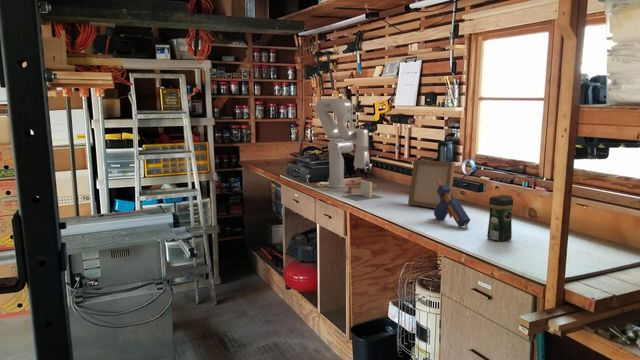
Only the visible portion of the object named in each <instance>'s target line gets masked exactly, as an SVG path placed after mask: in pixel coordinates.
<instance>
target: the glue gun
mask: <svg viewBox="0 0 640 360" xmlns="http://www.w3.org/2000/svg"><path fill="white" fill-rule="evenodd" d="M436 182H437V183H438V185H439V188H438V190H437V193H438V194H439V196H440V203H439V204H438V206H437V207H436V208H434V210H433V216H434V217H435V219H436V220H438V221H441V220H445V219H446V218H447V216H448V217H449V218H450V219H451V218H453V220H454V221H455V223H456V224H457V226H458V227H459V228H460V227H461V228H462V227H465V228H466V229H467V230H468V231H469V226H468V225H469V224H470V221H471V218H470V217H469V215H468V214H467V212H466V210H465V209H464V208H463V206H462V205H461V203H460V202H459V200H458V198H453V199H452V197H451V198H450V197H449V195H448V194H449V192H450V190H451V189H450V188H449V186H448V184H447V185H442V184H441V183H440V181H439V180H437V181H436Z"/></svg>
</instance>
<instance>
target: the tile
mask: <svg viewBox="0 0 640 360" xmlns="http://www.w3.org/2000/svg"><path fill="white" fill-rule="evenodd" d="M372 183H373V182H372V181H368V180H364V179H363V180H362V179H361V180H360V185H361V193H360V194H361V195H362V196H365V197H369V198H372V194H373V191H372Z"/></svg>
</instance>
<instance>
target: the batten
mask: <svg viewBox="0 0 640 360" xmlns="http://www.w3.org/2000/svg"><path fill="white" fill-rule="evenodd" d="M347 188H348V189H347V193H348V194H349V195H355V194H361V184H357V185H349V186H348V187H347ZM374 191H377V183H374V182H372V192H374Z"/></svg>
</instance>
